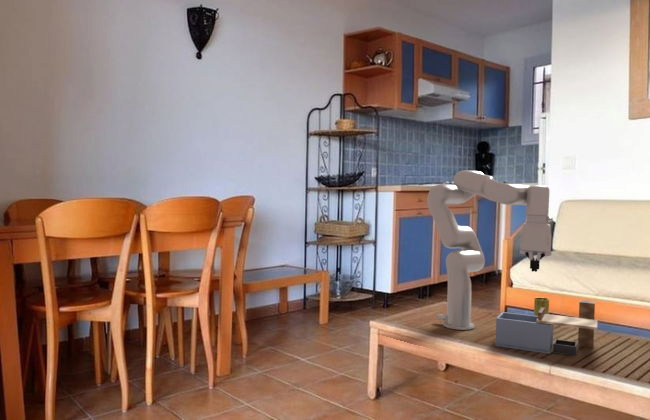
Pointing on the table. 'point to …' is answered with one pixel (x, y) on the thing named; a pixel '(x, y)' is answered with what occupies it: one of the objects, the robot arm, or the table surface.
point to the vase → (541, 305)
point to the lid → (566, 320)
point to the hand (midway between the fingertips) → (534, 271)
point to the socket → (565, 347)
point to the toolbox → (523, 333)
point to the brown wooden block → (585, 334)
